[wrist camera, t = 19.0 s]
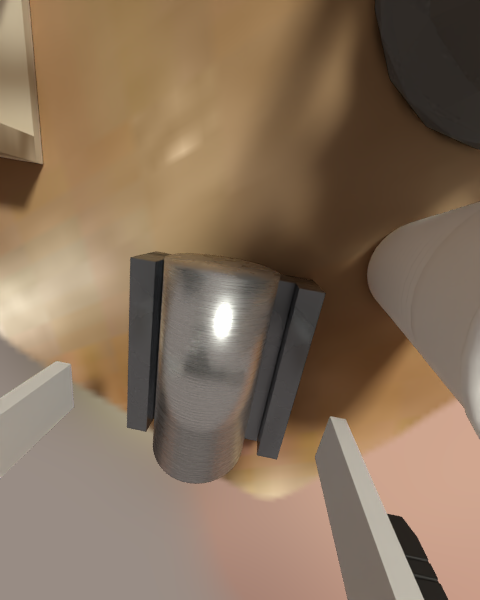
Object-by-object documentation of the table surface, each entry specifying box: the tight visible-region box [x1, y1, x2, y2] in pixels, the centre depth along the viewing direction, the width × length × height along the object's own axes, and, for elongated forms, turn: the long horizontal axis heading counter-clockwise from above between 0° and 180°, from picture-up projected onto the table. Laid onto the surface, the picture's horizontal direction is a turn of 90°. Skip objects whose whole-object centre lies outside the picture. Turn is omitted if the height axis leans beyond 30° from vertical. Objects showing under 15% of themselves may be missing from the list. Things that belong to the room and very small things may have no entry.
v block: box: [127, 252, 326, 459], centre depth 17 cm, size 13×12×4 cm
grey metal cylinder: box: [153, 253, 280, 484], centre depth 14 cm, size 6×12×6 cm, turn 171°
